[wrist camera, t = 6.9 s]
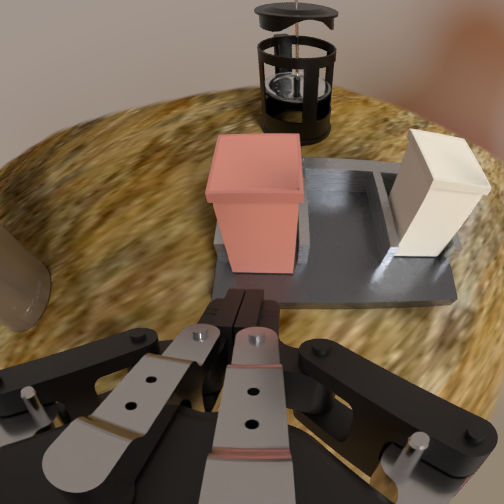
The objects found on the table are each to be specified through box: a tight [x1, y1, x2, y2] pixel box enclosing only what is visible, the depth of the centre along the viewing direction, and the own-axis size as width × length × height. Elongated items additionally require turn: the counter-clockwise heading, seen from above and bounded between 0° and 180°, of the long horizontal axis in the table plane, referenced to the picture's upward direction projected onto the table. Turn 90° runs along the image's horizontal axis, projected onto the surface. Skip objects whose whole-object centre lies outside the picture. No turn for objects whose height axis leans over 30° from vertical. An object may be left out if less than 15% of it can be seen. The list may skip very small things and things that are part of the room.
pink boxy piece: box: [205, 133, 304, 273], centre depth 21 cm, size 5×5×10 cm
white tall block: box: [388, 129, 492, 256], centre depth 21 cm, size 5×5×10 cm
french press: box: [254, 0, 338, 146], centre depth 28 cm, size 12×9×23 cm
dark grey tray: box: [212, 157, 462, 309], centre depth 26 cm, size 14×22×4 cm, turn 87°
